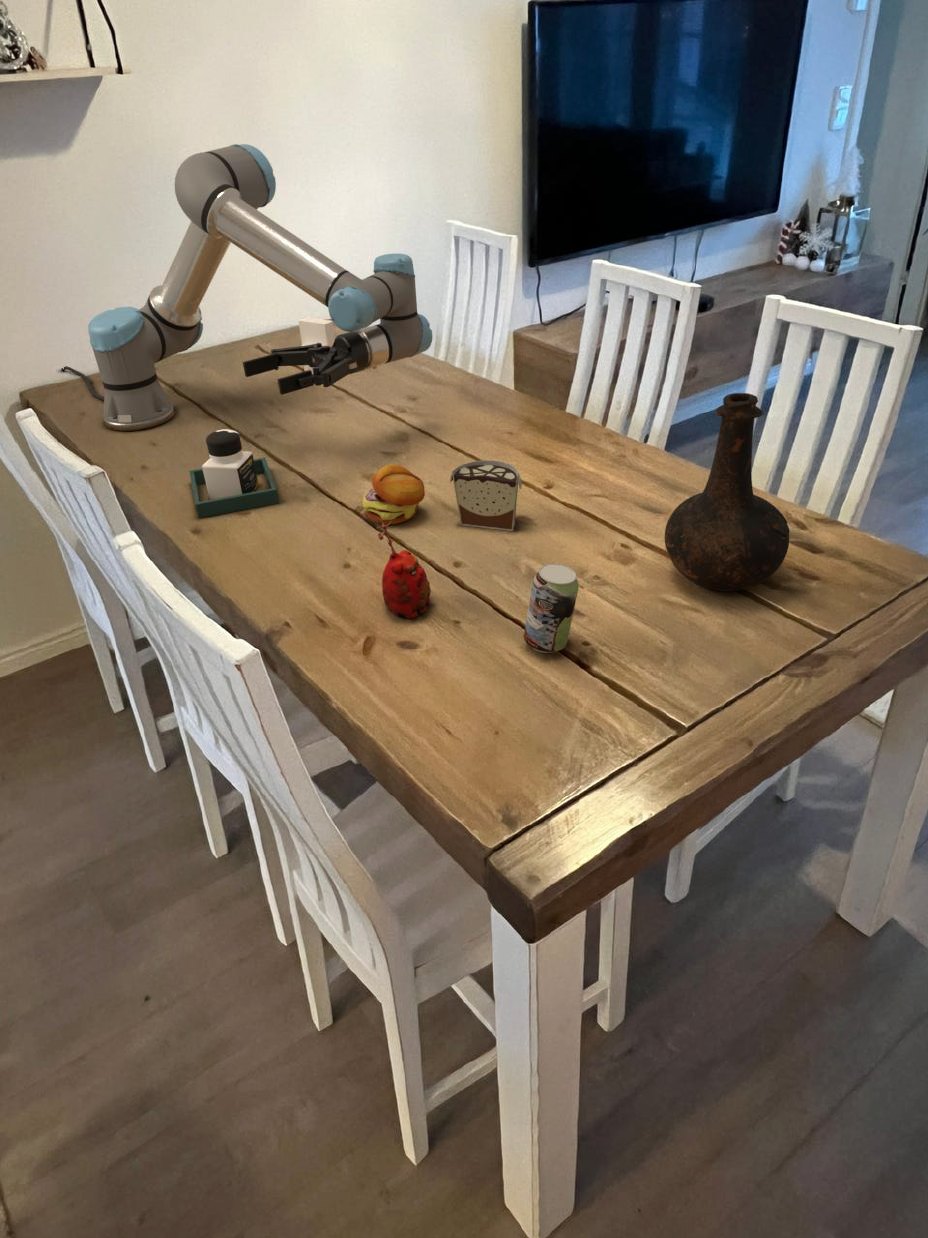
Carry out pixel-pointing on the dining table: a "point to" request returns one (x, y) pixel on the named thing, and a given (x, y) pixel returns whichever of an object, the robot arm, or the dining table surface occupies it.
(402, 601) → the red clay folk toy
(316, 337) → the base with upright slab
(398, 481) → the cheeseburger
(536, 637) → the beverage can
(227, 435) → the medicine bottle
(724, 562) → the glass bottle
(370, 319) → the robot arm
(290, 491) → the dining table surface
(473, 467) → the cream brown domed block
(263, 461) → the tray
